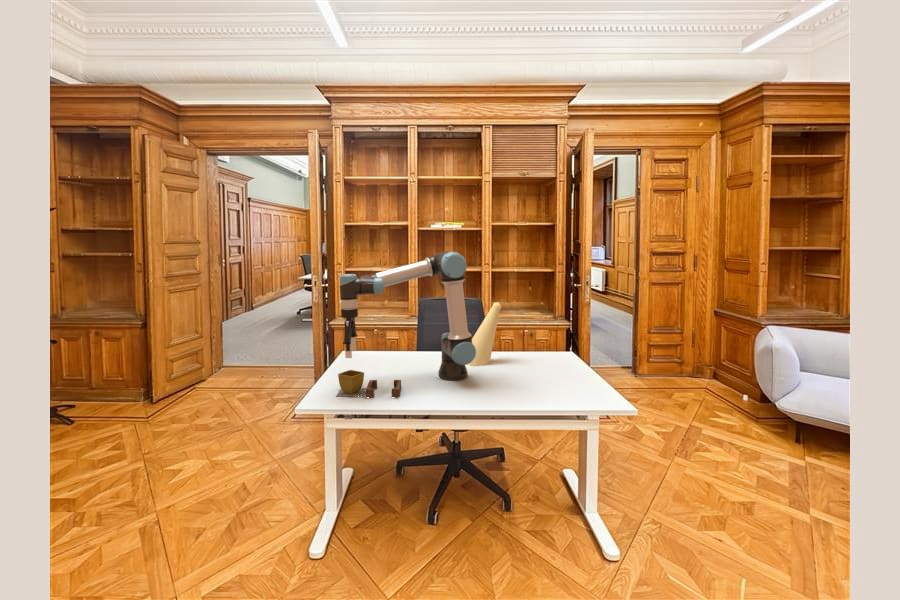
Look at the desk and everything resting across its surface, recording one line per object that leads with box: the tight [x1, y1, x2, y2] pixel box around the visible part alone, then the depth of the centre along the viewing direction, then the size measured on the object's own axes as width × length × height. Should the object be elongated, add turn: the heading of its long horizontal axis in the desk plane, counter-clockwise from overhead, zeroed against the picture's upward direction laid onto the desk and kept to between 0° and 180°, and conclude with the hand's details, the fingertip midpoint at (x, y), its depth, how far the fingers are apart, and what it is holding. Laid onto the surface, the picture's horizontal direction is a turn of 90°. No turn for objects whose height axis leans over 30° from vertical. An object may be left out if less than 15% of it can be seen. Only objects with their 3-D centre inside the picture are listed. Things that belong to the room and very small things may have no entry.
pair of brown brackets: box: [365, 379, 402, 399], centre depth 230 cm, size 15×15×4 cm
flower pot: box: [337, 369, 365, 394], centre depth 229 cm, size 9×9×9 cm
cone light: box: [466, 301, 502, 367], centre depth 285 cm, size 25×18×35 cm
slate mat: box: [335, 387, 367, 398], centre depth 230 cm, size 12×12×1 cm
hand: (351, 354), depth 228 cm, fingers open, 13 cm apart
